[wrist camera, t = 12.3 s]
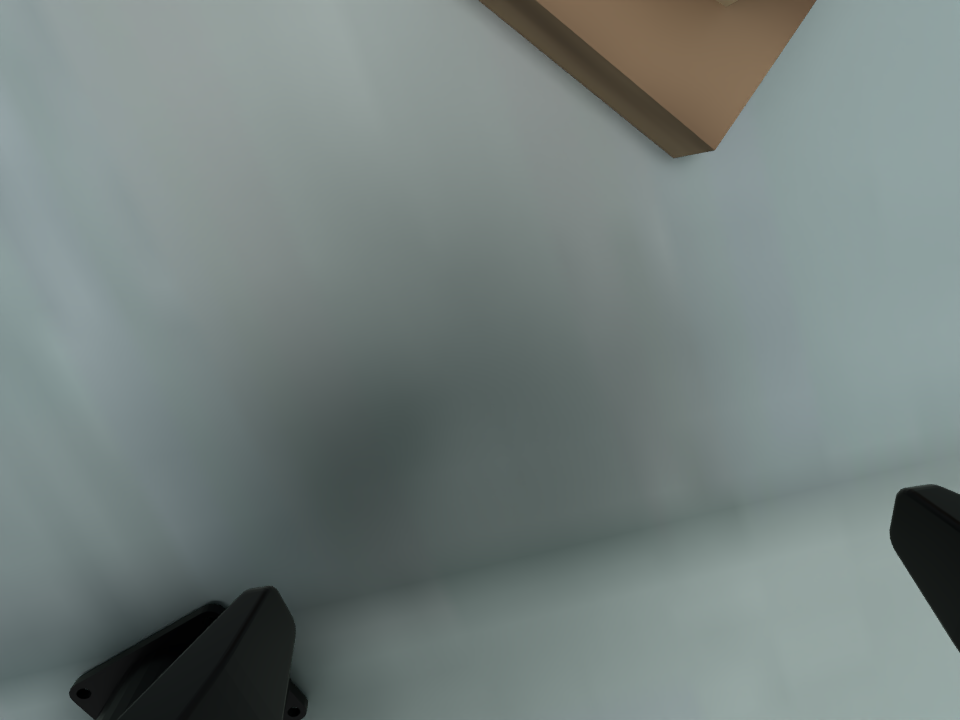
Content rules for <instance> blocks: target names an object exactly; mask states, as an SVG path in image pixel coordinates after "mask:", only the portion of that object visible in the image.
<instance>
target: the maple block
mask: <svg viewBox="0 0 960 720" xmlns="http://www.w3.org/2000/svg"><path fill="white" fill-rule="evenodd" d="M716 1H718V2H719V3H721V4H722V5H724V6H725V7H727V6H729V5H731V4H732V3H734V2H736V1H737V0H716Z"/></svg>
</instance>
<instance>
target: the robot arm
mask: <svg viewBox="0 0 960 720" xmlns="http://www.w3.org/2000/svg"><path fill="white" fill-rule="evenodd" d="M890 539H891V543H892V545H893V548H894V550H895V551H896V553H897V555H898V556H899V558H900V559H901V561H902V563H903V564H904V566H905V567H906V569H907V571H908V572H909V574H910V575H911V577H912V578H913V580H914V582H915V583H916V585H917V586H918V588H919V590H920V591H921V593H922V594H923V596H924V597H925V599H926V601H927V602H928V604H929V605H930V607H931V609H932V610H933V612H934V613H935V615H936V616H937V618H938V620H939V621H940V623H941V624H942V626H943V628H944V629H945V631H946V632H947V634H948V635H949V637H950V639H951V640H952V642H953V643H954V645H955V646H956V648H957V649H958V651H959V652H960V494H958V493H955V492H953V491H951V490H948V489H946V488H944V487H941V486H938V485H933V484H927V485H920V486H914V487H907V488H903V489H901V490H900V491H899V492H898V493H897V495H896V499H895V504H894V510H893V515H892V520H891V526H890ZM207 617H213V618H215V619H216V620H210V619H208V618H207ZM295 635H296V628H295V623H294V619H293V617H292V615H291V614H290V612H289V610H288V608H287V606H286V604H285V603H284V601H283V599H282V597H281V595H280V593H279V592H278V590H277V589H276V588H275V587H273V586H264V587H258V588H251V589H248V590H246V591H244V592H243V593H242V594H241V595H240V596H239V597H238V598H237V599H236V600H235V601H234V602H233V603H232V604H231V605H230V606H229V607H228V608H227V609H226V610H225V608H223V607H222V606H221V605H218V604H208V605H205V606H203V607H202V608H200V609H198V610H196V611H195V612H193V613H191V614H189V615H188V616H186V617H184V618H182V619H181V620H179V621H177V622H175V623H174V624H172V625H170V626H168V627H167V628H165V629H163V630H161V631H160V632H158V633H156V634H154V635H153V636H151V637H149V638H147V639H146V640H144V641H142V642H140V643H139V644H137V645H135V646H133V647H131V648H130V649H128V650H126V651H124V652H123V653H121V654H119V655H117V656H116V657H114V658H112V659H110V660H109V661H107V662H105V663H103V664H102V665H100V666H98V667H96V668H95V669H93V670H91V671H89V672H88V673H86V674H84V675H82V676H81V677H79V678H78V679H77V680H76V682H75V683H74V685H73V686H72V688H71V689H70V692H69V695H70V698H71V699H72V700H73V701H74V702H75V703H76V704H77V705H78V706H79V707H81V708H82V709H83V710H84V711H85V712H86V713H87V714H89V715H90V716H91V717H92V718H93V719H94V720H301V719H302V718H303V717H304V716H305V715H306V712H307V706H308V700H307V698H306V697H305V696H304V695H303V694H302V693H301V691H300V690H299V689H298V688H297V687H296V686H295V685H294V684H293V683H292V682H291V680H290V678H289V675H290V668H291V662H292V656H293V649H294V643H295ZM86 689H88V690H86ZM292 707H297V708H292Z"/></svg>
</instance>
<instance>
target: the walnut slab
mask: <svg viewBox="0 0 960 720" xmlns="http://www.w3.org/2000/svg"><path fill="white" fill-rule="evenodd" d="M479 1H480V2H481V3H482V4H484V5H485V6H486V7H487V8H489V9H490V10H491V11H492V12H494V13H495V14H496V15H497V16H498V17H500V18H501V19H502V20H503V21H505V22H506V23H507V24H508V25H510V26H511V27H512V28H513V29H515V30H516V31H517V32H518V33H519V34H521V35H522V36H523V37H524V38H526V39H527V40H528V41H529V42H531V43H532V44H533V45H534V46H536V47H537V48H538V49H539V50H540V51H542V52H543V53H544V54H545V55H547V56H548V57H549V58H550V59H552V60H553V61H554V62H555V63H556V64H558V65H559V66H560V67H561V68H563V69H564V70H565V71H566V72H568V73H569V74H570V75H571V76H573V77H574V78H575V79H576V80H577V81H579V82H580V83H581V84H582V85H584V86H585V87H586V88H587V89H589V90H590V91H591V92H592V93H594V94H595V95H596V96H597V97H598V98H600V99H601V100H602V101H603V102H605V103H606V104H607V105H608V106H610V107H611V108H612V109H613V110H615V111H616V112H617V113H618V114H619V115H621V116H622V117H623V118H624V119H626V120H627V121H628V122H629V123H631V124H632V125H633V126H634V127H636V128H637V129H638V130H639V131H640V132H642V133H643V134H644V135H645V136H647V137H648V138H649V139H650V140H652V141H653V142H654V143H655V144H656V145H658V146H659V147H660V148H661V149H663V150H664V151H665V152H666V153H668V154H669V155H670V156H671V157H673V158H677V157H682V156H687V155H693V154H698V153H703V152H708V151H714V150H715V149H716V148H717V146H718V145H719V143H720V142H721V140H722V139H723V137H724V136H725V134H726V133H727V131H728V130H729V129H730V127H731V126H732V124H733V123H734V121H735V120H736V118H737V117H738V115H739V114H740V112H741V111H742V109H743V108H744V106H745V105H746V103H747V102H748V100H749V99H750V98H751V96H752V95H753V93H754V92H755V90H756V89H757V87H758V86H759V84H760V83H761V81H762V80H763V78H764V77H765V75H766V74H767V72H768V71H769V70H770V68H771V67H772V65H773V64H774V62H775V61H776V59H777V58H778V56H779V55H780V53H781V52H782V50H783V49H784V47H785V46H786V44H787V43H788V42H789V40H790V39H791V37H792V36H793V34H794V33H795V31H796V30H797V28H798V27H799V25H800V24H801V22H802V21H803V19H804V18H805V16H806V15H807V14H808V12H809V11H810V9H811V8H812V6H813V5H814V3H815V2H816V0H737V1H736V2H734V3H732V4H731V5H729V6H727V7H725V6H724V5H722V4H721V3H719V2H718V1H716V0H479Z"/></svg>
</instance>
